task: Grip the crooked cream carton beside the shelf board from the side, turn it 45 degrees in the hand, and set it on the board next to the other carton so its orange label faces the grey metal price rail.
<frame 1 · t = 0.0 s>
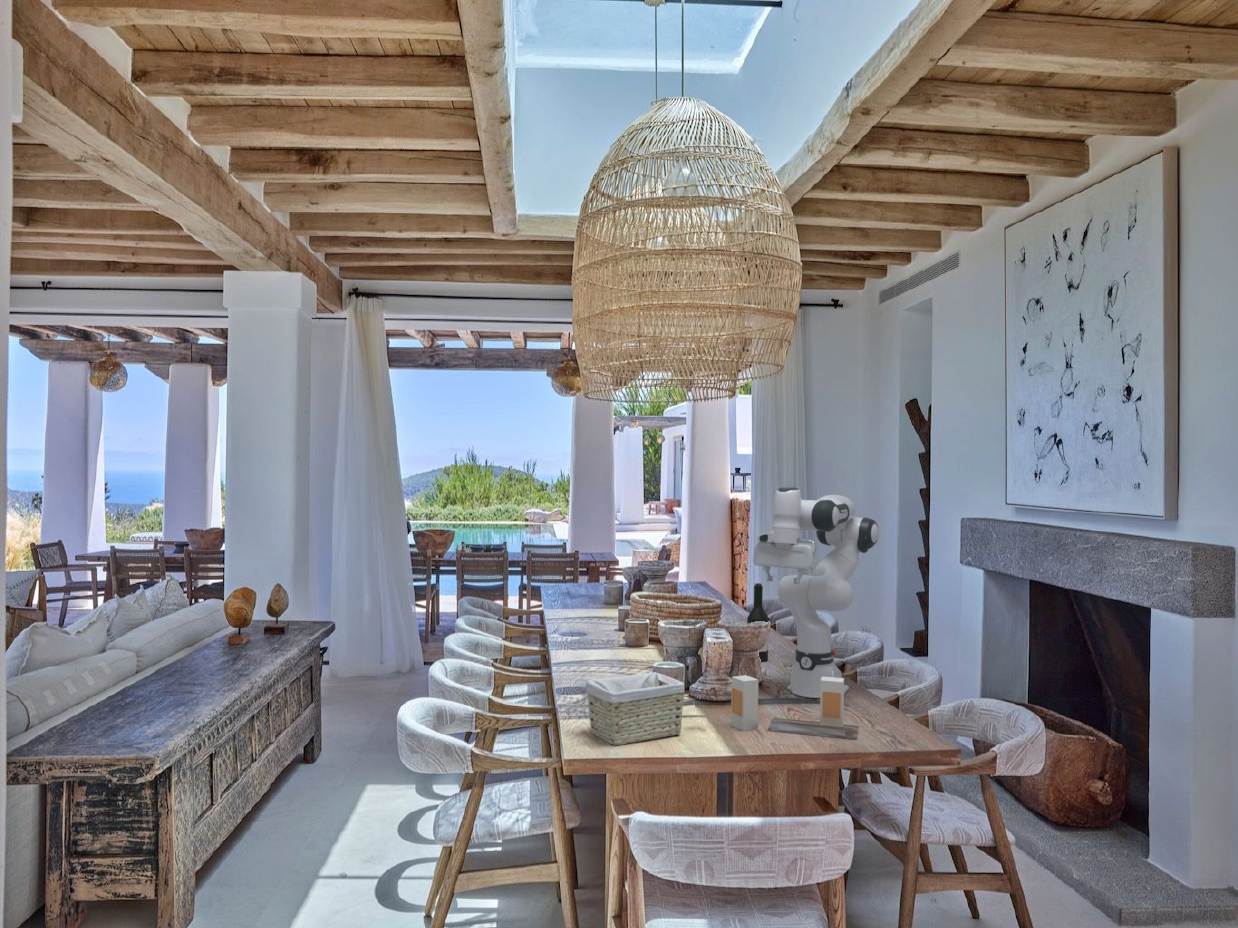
hand: (782, 582, 272), 39 cm above the table, tool pointing down, fingers open, 8 cm apart
cream carton: (744, 727, 249), on the table
shelf board: (813, 733, 244), on the table
wine bottle: (757, 660, 342), on the table
storage basket: (634, 735, 241), on the table
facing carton: (831, 729, 243), point 1 cm above the table, touching shelf board
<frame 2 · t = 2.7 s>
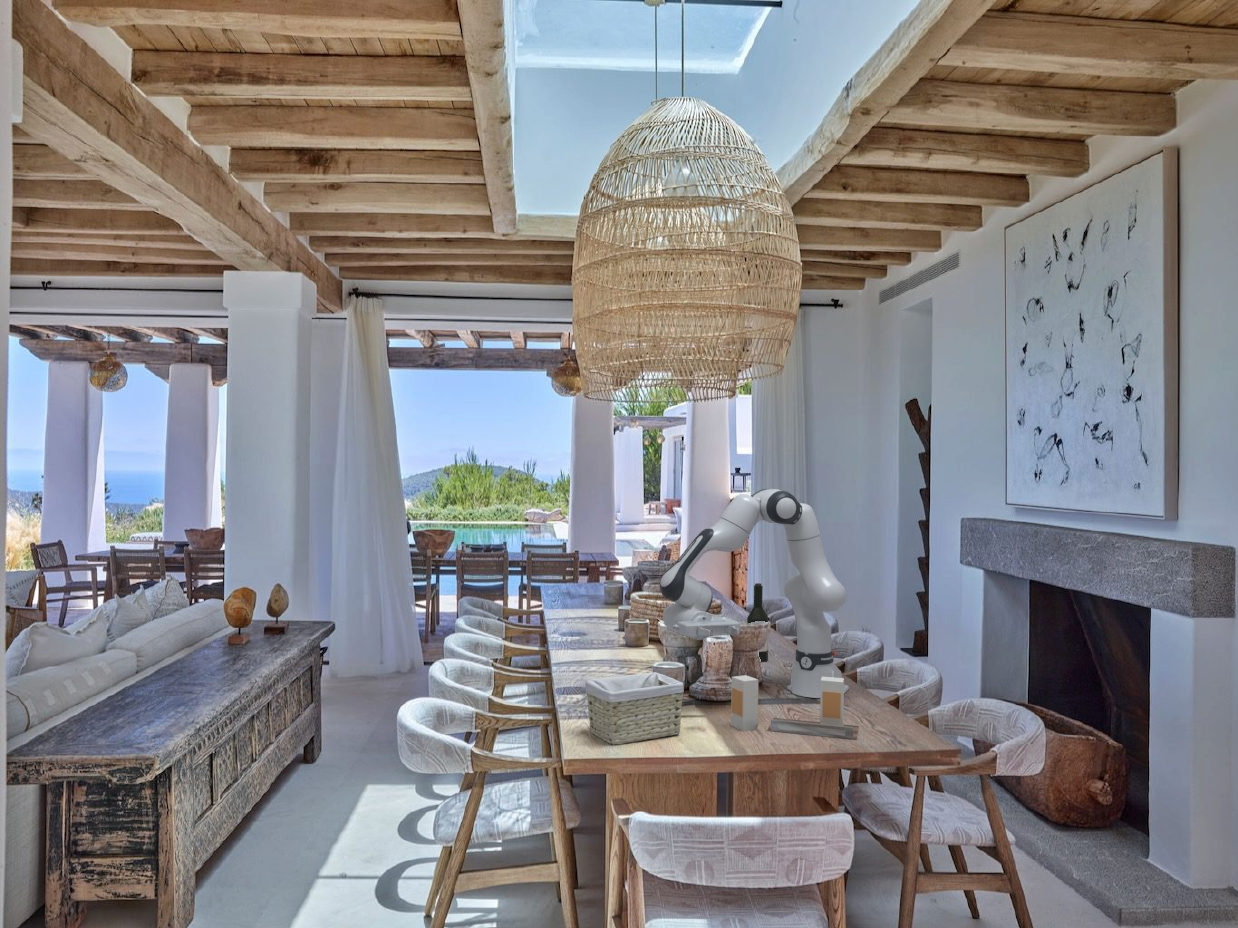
hand: (724, 632, 260), 25 cm above the table, tool horizontal, fingers open, 8 cm apart
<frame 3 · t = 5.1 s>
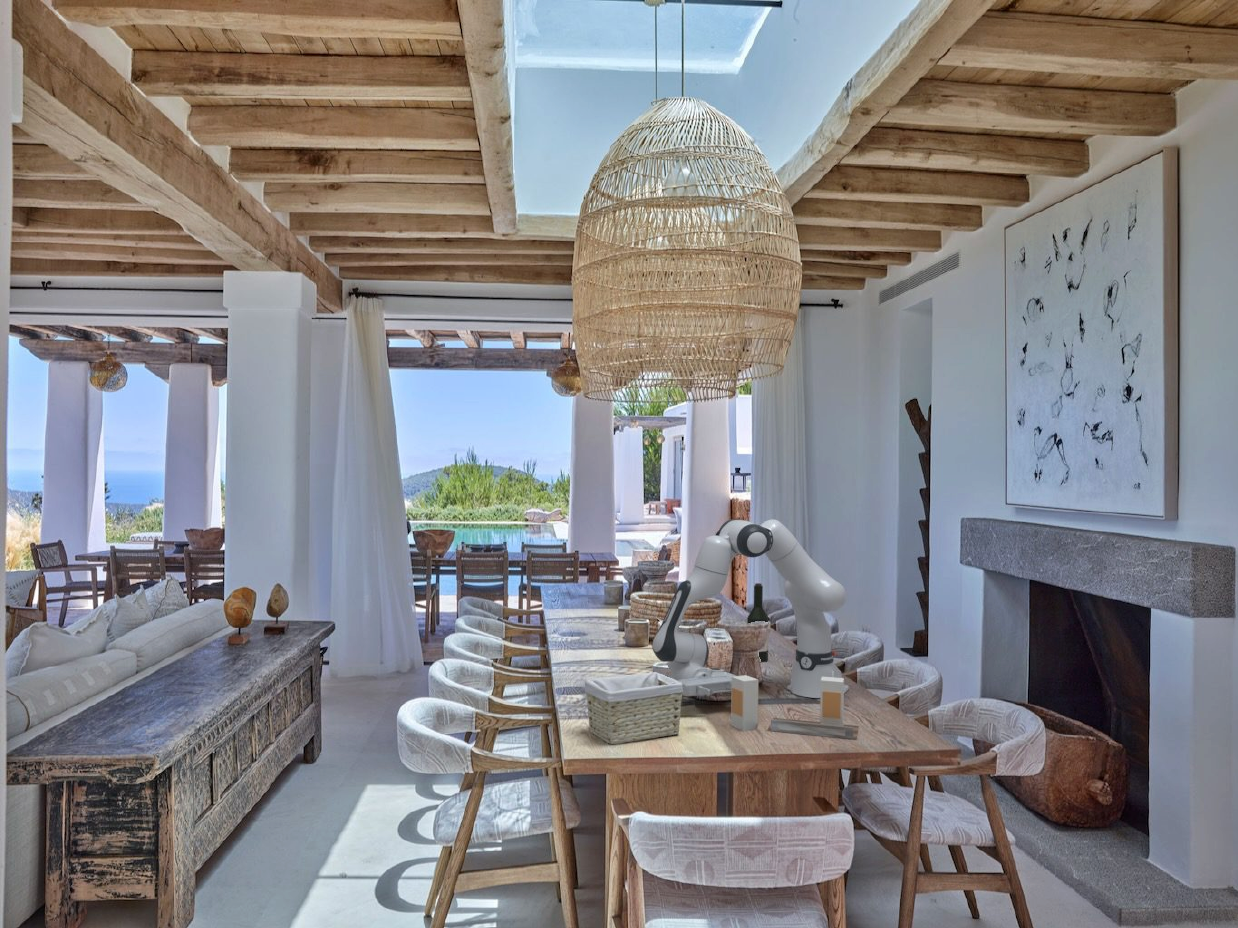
hand: (723, 691, 259), 8 cm above the table, tool horizontal, fingers open, 8 cm apart
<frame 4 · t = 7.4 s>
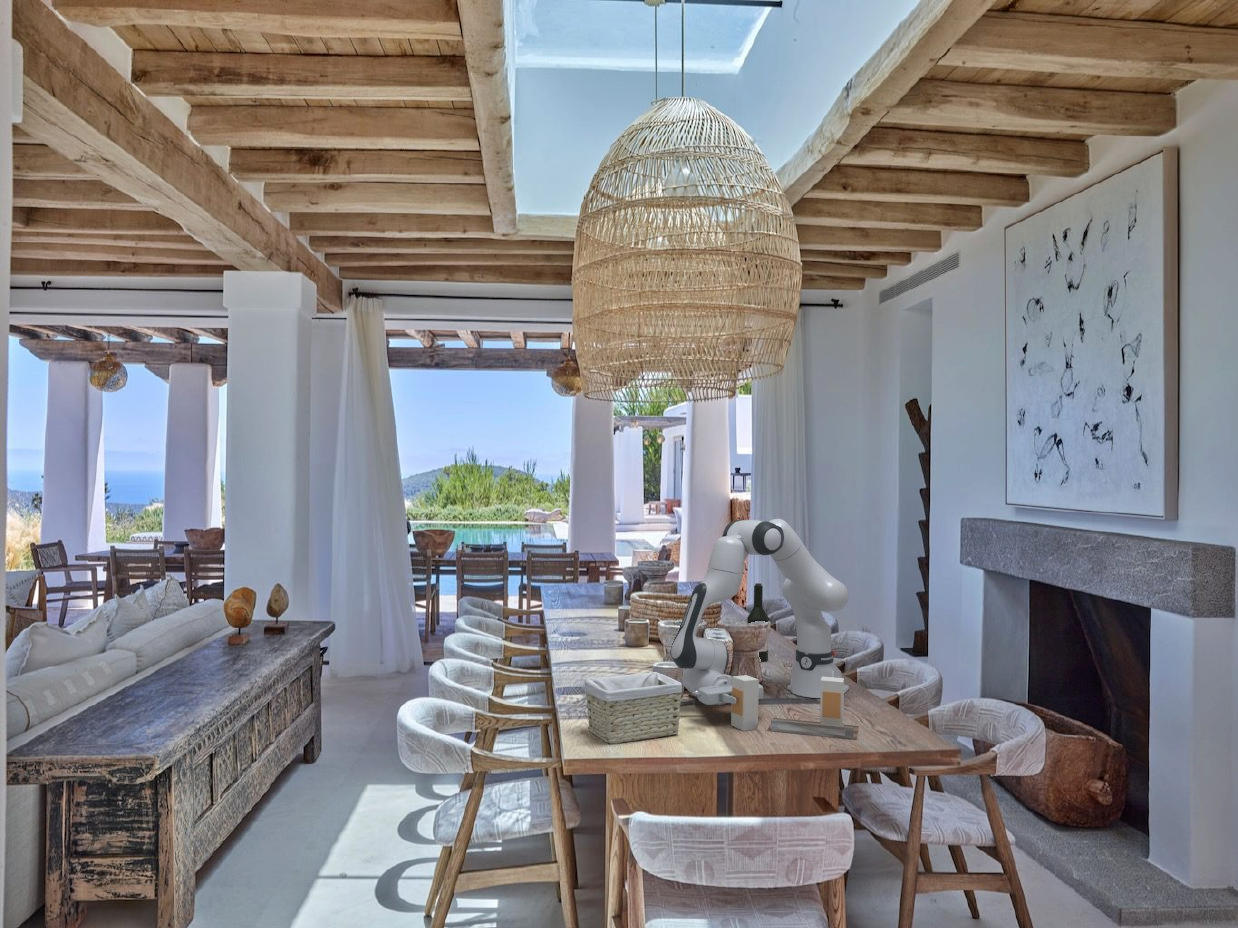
hand: (746, 699, 249), 8 cm above the table, tool horizontal, fingers closed on cream carton, 5 cm apart
cream carton: (744, 727, 249), on the table, touching gripper
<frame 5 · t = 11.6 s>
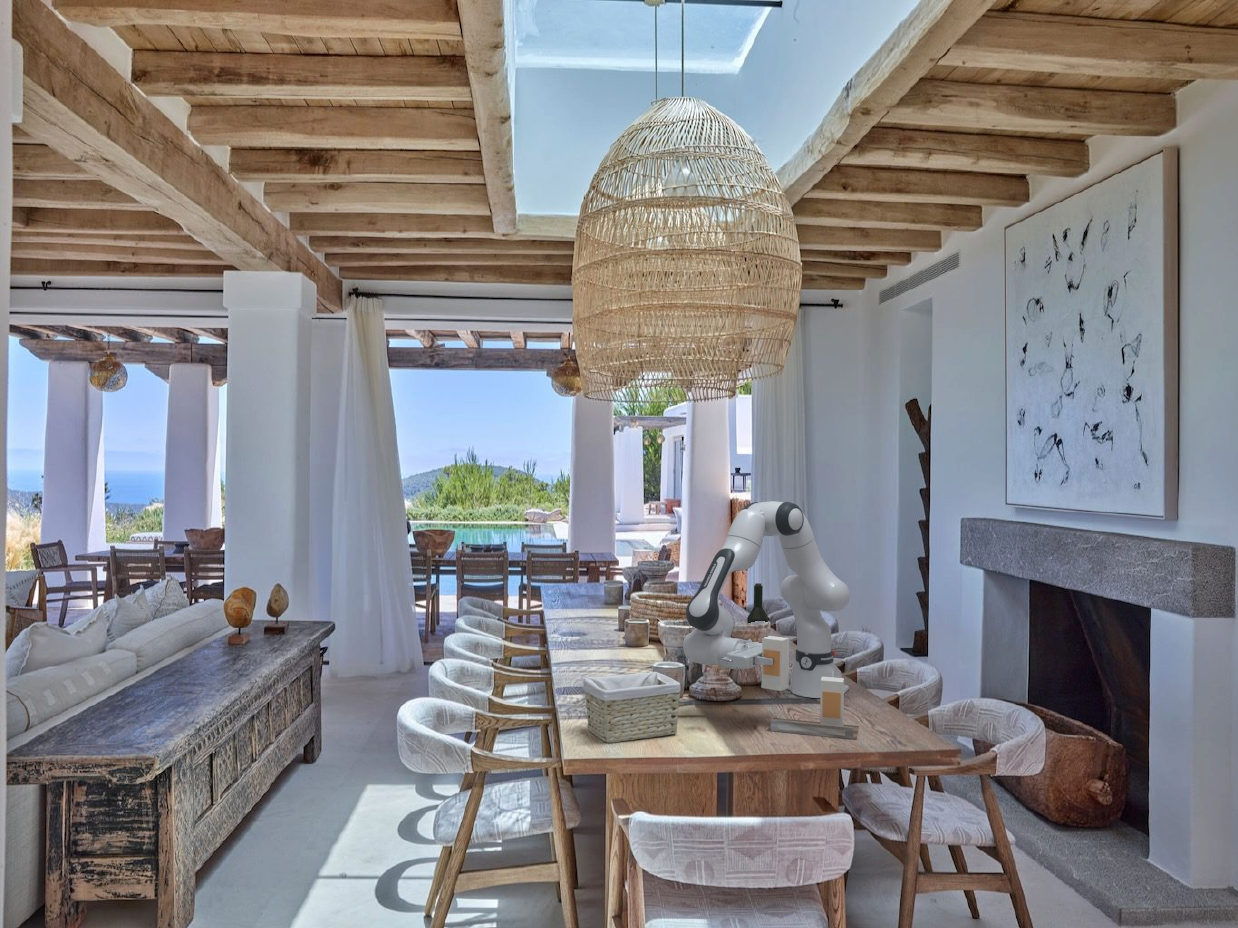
hand: (778, 659, 246), 20 cm above the table, tool horizontal, fingers closed on cream carton, 5 cm apart
cream carton: (774, 687, 247), point 12 cm above the table, touching gripper
when the fingers open (11 cm above the table, at t = 15.4 s): cream carton drops 1 cm, resting on shelf board.
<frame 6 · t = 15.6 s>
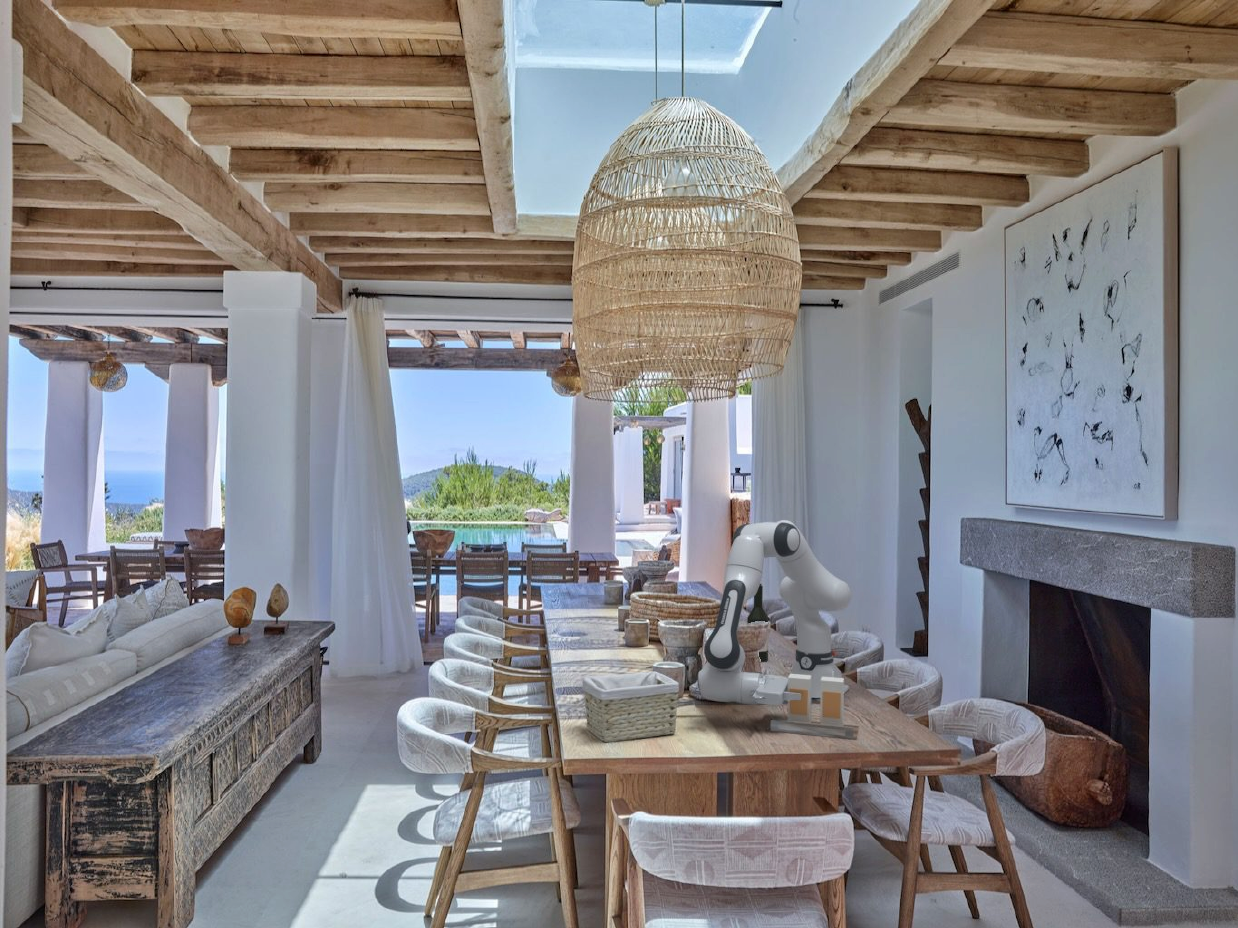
hand: (802, 692, 245), 11 cm above the table, tool horizontal, fingers open, 7 cm apart
cream carton: (799, 726, 246), point 2 cm above the table, touching shelf board
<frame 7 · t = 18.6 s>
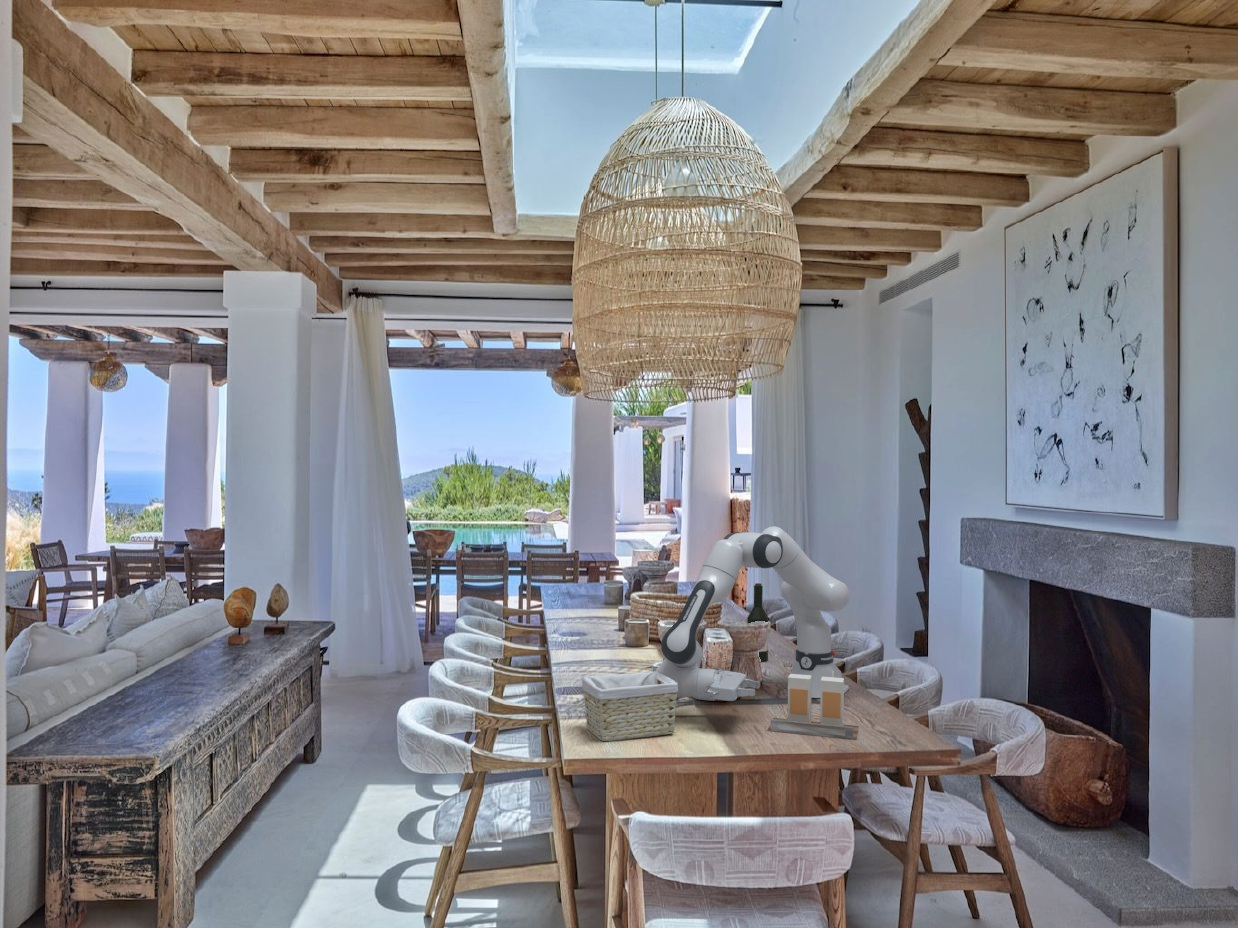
hand: (757, 688, 249), 11 cm above the table, tool horizontal, fingers open, 8 cm apart
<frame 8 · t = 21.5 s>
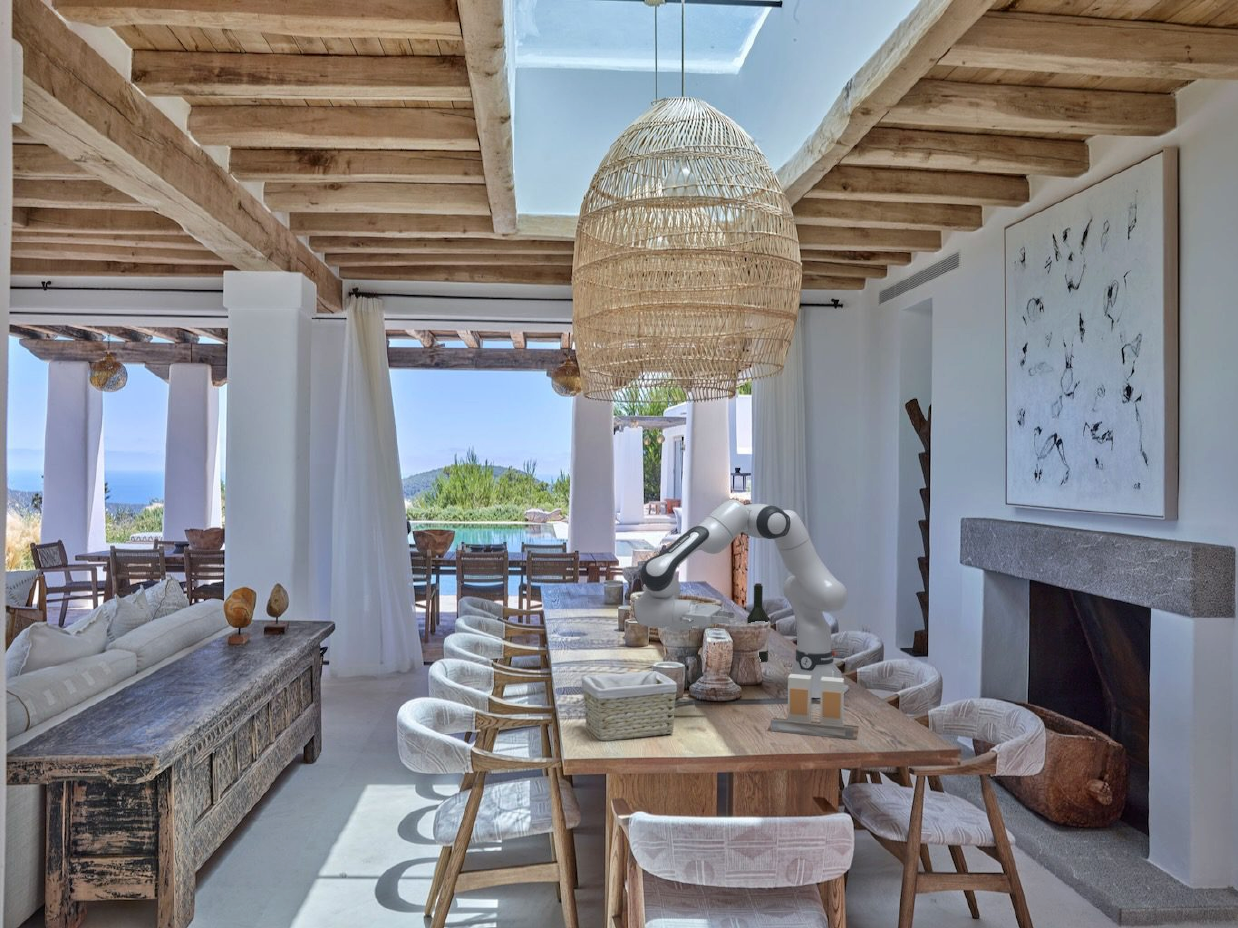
hand: (731, 617, 257), 30 cm above the table, tool horizontal, fingers open, 8 cm apart
at the end: cream carton inside the target area on the shelf board (0.3 cm from its centre), point 1.5 cm above the shelf board's base; cream carton tilted 0°; the gripper is holding nothing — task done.
